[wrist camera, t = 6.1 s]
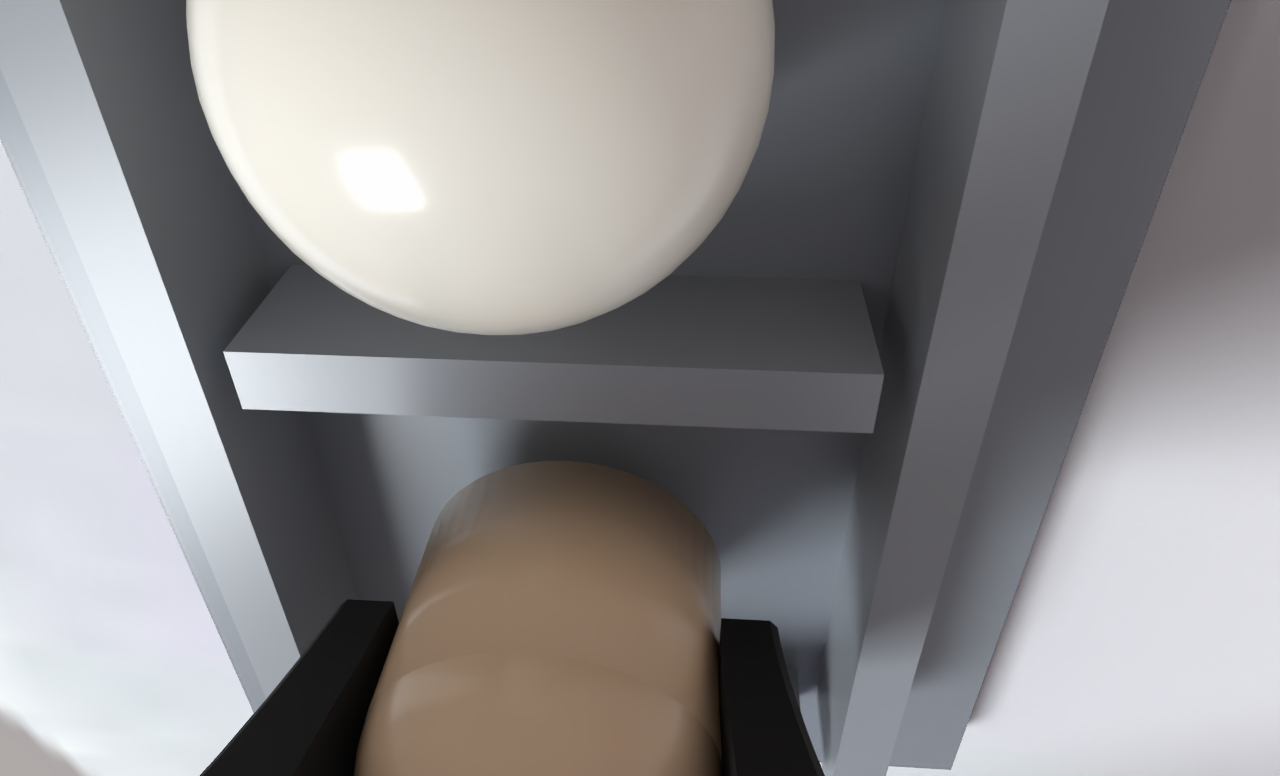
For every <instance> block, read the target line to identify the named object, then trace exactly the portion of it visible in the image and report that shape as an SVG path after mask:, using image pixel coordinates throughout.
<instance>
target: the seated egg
mask: <svg viewBox="0 0 1280 776" xmlns="http://www.w3.org/2000/svg"><path fill="white" fill-rule="evenodd" d="M186 19H187V32H188V42H189V51H190V60H191V67H192V71H193V75H194V80H195V84H196V88H197V93H198V97H199V101H200V104H201V106H202V109H203V112H204V115H205V117H206V120H207V123H208V126H209V129H210V131H211V134H212V136H213V138H214V140H215V142H216V144H217V146H218V148H219V150H220V153H221V155H222V157H223V159H224V161H225V163H226V165H227V167H228V168H229V170H230V172H231V174H232V175H233V177H234V179H235V180H236V182H237V183H238V185H239V186H240V188H241V190H242V191H243V193H244V194H245V196H246V198H247V199H248V201H249V202H250V204H251V205H252V206H253V208H254V209H255V210H256V211H257V213H258V214H259V215H260V216H261V218H262V219H263V220H264V221H265V223H266V224H267V225H268V227H269V228H270V229H271V230H272V231H273V232H274V233H275V234H276V235H277V236H278V237H279V238H280V239H281V240H282V241H283V242H284V244H285V245H286V246H287V247H288V248H289V249H290V250H291V251H292V252H293V253H294V254H296V255H297V256H298V257H299V258H300V259H301V260H303V261H304V262H305V263H306V264H307V265H309V266H310V267H311V268H312V269H313V270H315V271H316V272H317V273H318V274H320V275H321V276H322V277H324V278H325V279H327V280H328V281H330V282H331V283H333V284H334V285H336V286H337V287H339V288H340V289H341V290H343V291H344V292H346V293H348V294H350V295H352V296H354V297H355V298H357V299H359V300H361V301H363V302H365V303H366V304H368V305H370V306H372V307H374V308H377V309H379V310H381V311H384V312H386V313H389V314H391V315H393V316H396V317H398V318H401V319H404V320H407V321H411V322H414V323H417V324H420V325H423V326H427V327H432V328H437V329H442V330H447V331H452V332H458V333H469V334H480V335H524V334H531V333H538V332H546V331H552V330H556V329H560V328H564V327H568V326H571V325H575V324H579V323H582V322H584V321H587V320H589V319H592V318H594V317H597V316H600V315H602V314H605V313H607V312H609V311H612V310H614V309H616V308H619V307H620V306H622V305H624V304H626V303H628V302H630V301H631V300H633V299H635V298H637V297H639V296H640V295H642V294H644V293H646V292H647V291H648V290H650V289H651V288H652V287H654V286H655V285H656V284H658V283H659V282H661V281H662V280H663V279H665V278H666V277H667V276H669V275H670V274H671V273H672V272H673V271H674V270H675V269H676V268H677V267H678V266H679V265H680V264H681V263H682V262H684V261H685V260H686V259H687V258H688V257H689V256H690V255H691V254H692V253H693V252H694V251H695V250H696V249H697V248H698V247H699V246H700V245H701V244H702V243H703V242H704V240H705V239H706V238H707V237H708V235H709V234H710V233H711V232H712V230H713V229H714V228H715V227H716V225H717V224H718V223H719V222H720V220H721V219H722V217H723V216H724V214H725V212H726V211H727V209H728V207H729V206H730V204H731V202H732V201H733V199H734V197H735V196H736V194H737V192H738V191H739V189H740V187H741V185H742V182H743V180H744V178H745V176H746V174H747V171H748V169H749V167H750V164H751V162H752V160H753V157H754V155H755V153H756V151H757V148H758V146H759V142H760V139H761V135H762V132H763V128H764V125H765V121H766V118H767V114H768V110H769V103H770V96H771V89H772V83H773V76H774V47H775V21H774V12H773V3H772V0H186Z"/></svg>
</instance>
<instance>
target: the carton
mask: <svg viewBox="0 0 1280 776" xmlns="http://www.w3.org/2000/svg"><path fill="white" fill-rule="evenodd" d="M1230 2H1231V0H772V3H773V12H774V21H775V47H774V76H773V83H772V89H771V96H770V103H769V110H768V114H767V118H766V121H765V125H764V128H763V132H762V135H761V139H760V142H759V146H758V148H757V151H756V153H755V155H754V157H753V160H752V162H751V164H750V167H749V169H748V171H747V174H746V176H745V178H744V180H743V182H742V185H741V187H740V189H739V191H738V192H737V194H736V196H735V197H734V199H733V201H732V202H731V204H730V206H729V207H728V209H727V211H726V212H725V214H724V216H723V217H722V219H721V220H720V222H719V223H718V224H717V225H716V227H715V228H714V229H713V230H712V232H711V233H710V234H709V235H708V237H707V238H706V239H705V240H704V242H703V243H702V244H701V245H700V246H699V247H698V248H697V249H696V250H695V251H694V252H693V253H692V254H691V255H690V256H689V257H688V258H687V259H686V260H685V261H684V262H682V263H681V264H680V265H679V266H678V267H677V268H676V269H675V270H674V271H673V272H672V273H671V274H670V275H669V276H667V277H666V278H665V279H663V280H662V281H661V282H659V283H658V284H656V285H655V286H654V287H652V288H651V289H650V290H648V291H647V292H646V293H644V294H642V295H640V296H639V297H637V298H635V299H633V300H631V301H630V302H628V303H626V304H624V305H622V306H620V307H619V308H616V309H614V310H612V311H609V312H607V313H605V314H602V315H600V316H597V317H594V318H592V319H589V320H587V321H584V322H582V323H579V324H575V325H571V326H568V327H564V328H560V329H556V330H552V331H546V332H538V333H531V334H524V335H480V334H469V333H458V332H452V331H447V330H442V329H437V328H432V327H427V326H423V325H420V324H417V323H414V322H411V321H407V320H404V319H401V318H398V317H396V316H393V315H391V314H389V313H386V312H384V311H381V310H379V309H377V308H374V307H372V306H370V305H368V304H366V303H365V302H363V301H361V300H359V299H357V298H355V297H354V296H352V295H350V294H348V293H346V292H344V291H343V290H341V289H340V288H339V287H337V286H336V285H334V284H333V283H331V282H330V281H328V280H327V279H325V278H324V277H322V276H321V275H320V274H318V273H317V272H316V271H315V270H313V269H312V268H311V267H310V266H309V265H307V264H306V263H305V262H304V261H303V260H301V259H300V258H299V257H298V256H297V255H296V254H294V253H293V252H292V251H291V250H290V249H289V248H288V247H287V246H286V245H285V244H284V242H283V241H282V240H281V239H280V238H279V237H278V236H277V235H276V234H275V233H274V232H273V231H272V230H271V229H270V228H269V227H268V225H267V224H266V223H265V221H264V220H263V219H262V218H261V216H260V215H259V214H258V213H257V211H256V210H255V209H254V208H253V206H252V205H251V204H250V202H249V201H248V199H247V198H246V196H245V194H244V193H243V191H242V190H241V188H240V186H239V185H238V183H237V182H236V180H235V179H234V177H233V175H232V174H231V172H230V170H229V168H228V167H227V165H226V163H225V161H224V159H223V157H222V155H221V153H220V150H219V148H218V146H217V144H216V142H215V140H214V138H213V136H212V134H211V131H210V129H209V126H208V123H207V120H206V117H205V115H204V112H203V109H202V106H201V104H200V101H199V97H198V93H197V88H196V84H195V80H194V75H193V71H192V67H191V60H190V51H189V42H188V32H187V19H186V0H0V140H1V142H2V144H3V147H4V149H5V151H6V153H7V156H8V158H9V160H10V162H11V165H12V167H13V169H14V171H15V174H16V176H17V178H18V181H19V183H20V185H21V187H22V190H23V192H24V194H25V196H26V199H27V201H28V203H29V205H30V208H31V210H32V212H33V214H34V217H35V219H36V221H37V223H38V226H39V228H40V230H41V232H42V235H43V237H44V239H45V242H46V244H47V246H48V248H49V251H50V253H51V255H52V257H53V260H54V262H55V264H56V266H57V269H58V271H59V273H60V275H61V278H62V280H63V282H64V284H65V287H66V289H67V291H68V294H69V296H70V298H71V300H72V303H73V305H74V307H75V309H76V312H77V314H78V316H79V318H80V321H81V323H82V325H83V327H84V330H85V332H86V334H87V336H88V339H89V341H90V343H91V346H92V348H93V350H94V352H95V355H96V357H97V359H98V361H99V364H100V366H101V368H102V370H103V373H104V375H105V377H106V379H107V382H108V384H109V386H110V388H111V391H112V393H113V395H114V398H115V400H116V402H117V404H118V407H119V409H120V411H121V413H122V416H123V418H124V420H125V422H126V425H127V427H128V429H129V431H130V434H131V436H132V438H133V440H134V443H135V445H136V447H137V450H138V452H139V454H140V456H141V459H142V461H143V463H144V465H145V468H146V470H147V472H148V474H149V477H150V479H151V481H152V483H153V486H154V488H155V490H156V492H157V495H158V497H159V499H160V502H161V504H162V506H163V508H164V511H165V513H166V515H167V517H168V520H169V522H170V524H171V526H172V529H173V531H174V533H175V535H176V538H177V540H178V542H179V544H180V547H181V549H182V551H183V554H184V556H185V558H186V560H187V563H188V565H189V567H190V569H191V572H192V574H193V576H194V578H195V581H196V583H197V585H198V587H199V590H200V592H201V594H202V596H203V599H204V601H205V603H206V606H207V608H208V610H209V612H210V615H211V617H212V619H213V621H214V624H215V626H216V628H217V630H218V633H219V635H220V637H221V639H222V642H223V644H224V646H225V648H226V651H227V653H228V655H229V658H230V660H231V662H232V664H233V667H234V669H235V671H236V673H237V676H238V678H239V680H240V682H241V685H242V687H243V689H244V691H245V694H246V696H247V698H248V700H249V703H250V705H251V707H252V710H253V712H254V713H255V712H256V710H257V709H258V708H259V707H260V706H261V705H262V703H263V702H264V701H265V700H266V699H267V698H268V696H269V695H270V694H271V693H272V691H273V690H274V689H275V688H276V686H277V685H278V684H279V683H280V682H281V680H282V679H283V678H284V677H285V675H286V674H287V673H288V672H289V670H290V669H291V668H292V667H293V665H294V664H295V663H296V662H297V660H298V659H299V658H300V657H301V655H302V654H303V653H304V652H305V650H306V649H307V648H308V647H309V645H310V644H311V643H312V641H313V640H314V639H315V638H316V636H317V635H318V634H319V632H320V631H321V630H322V629H323V627H324V626H325V625H326V623H327V622H328V621H329V619H330V618H331V617H332V616H333V614H334V613H335V612H336V610H337V609H338V608H339V607H340V605H341V604H342V603H344V602H345V601H346V600H347V599H353V600H372V601H392V602H394V605H395V609H396V613H397V617H398V621H399V622H400V619H401V616H402V613H403V610H404V607H405V605H406V602H407V599H408V596H409V593H410V590H411V588H412V585H413V582H414V579H415V576H416V574H417V571H418V568H419V565H420V562H421V559H422V557H423V554H424V551H425V548H426V545H427V542H428V540H429V537H430V534H431V531H432V528H433V526H434V523H435V521H436V519H437V517H438V515H439V513H440V512H441V511H442V509H443V508H444V507H445V505H446V504H447V503H448V501H449V500H450V499H451V498H452V497H454V496H455V495H456V494H457V493H458V492H459V491H460V490H461V489H463V488H464V487H466V486H467V485H469V484H470V483H472V482H473V481H475V480H477V479H479V478H481V477H483V476H485V475H487V474H489V473H492V472H495V471H498V470H500V469H503V468H506V467H511V466H515V465H519V464H524V463H531V462H540V461H575V462H586V463H592V464H597V465H603V466H608V467H611V468H615V469H618V470H622V471H625V472H628V473H631V474H633V475H636V476H638V477H641V478H643V479H645V480H648V481H650V482H651V483H653V484H655V485H657V486H659V487H661V488H663V489H664V490H666V491H667V492H669V493H670V494H672V495H673V496H674V497H676V498H677V499H679V500H680V501H681V502H682V503H683V504H685V505H686V506H687V507H688V508H689V509H690V510H691V511H692V512H693V513H694V514H695V515H696V516H697V517H698V519H699V520H700V521H701V522H702V523H703V524H704V526H705V527H706V529H707V531H708V532H709V534H710V536H711V537H712V539H713V542H714V544H715V546H716V549H717V551H718V556H719V560H720V565H721V618H727V619H746V620H766V621H771V622H772V623H773V624H774V625H775V626H777V627H778V632H779V637H780V642H781V647H782V651H783V655H784V659H785V663H786V666H787V670H788V674H789V677H790V680H791V684H792V687H793V690H794V693H795V697H796V699H797V702H798V705H799V708H800V711H801V714H802V717H803V720H804V723H805V726H806V729H807V731H808V734H809V737H810V739H811V742H812V745H813V748H814V750H815V753H816V755H817V758H818V760H819V762H822V770H823V772H824V775H825V776H886V773H887V770H888V766H897V767H914V768H930V769H947V770H951V768H952V765H953V762H954V759H955V757H956V754H957V751H958V748H959V746H960V743H961V740H962V737H963V735H964V732H965V729H966V726H967V724H968V721H969V718H970V715H971V713H972V710H973V707H974V704H975V702H976V699H977V696H978V693H979V691H980V688H981V685H982V682H983V680H984V677H985V674H986V672H987V669H988V666H989V663H990V661H991V658H992V655H993V652H994V650H995V647H996V644H997V641H998V639H999V636H1000V633H1001V630H1002V628H1003V625H1004V622H1005V619H1006V617H1007V614H1008V611H1009V608H1010V606H1011V603H1012V600H1013V597H1014V595H1015V592H1016V589H1017V586H1018V584H1019V581H1020V578H1021V575H1022V573H1023V570H1024V567H1025V564H1026V562H1027V559H1028V556H1029V553H1030V551H1031V548H1032V545H1033V542H1034V540H1035V537H1036V534H1037V531H1038V529H1039V526H1040V523H1041V521H1042V518H1043V515H1044V512H1045V510H1046V507H1047V504H1048V501H1049V499H1050V496H1051V493H1052V490H1053V488H1054V485H1055V482H1056V479H1057V477H1058V474H1059V471H1060V468H1061V466H1062V463H1063V460H1064V457H1065V455H1066V452H1067V449H1068V446H1069V444H1070V441H1071V438H1072V435H1073V433H1074V430H1075V427H1076V424H1077V422H1078V419H1079V416H1080V413H1081V411H1082V408H1083V405H1084V402H1085V400H1086V397H1087V394H1088V391H1089V389H1090V386H1091V383H1092V380H1093V378H1094V375H1095V372H1096V370H1097V367H1098V364H1099V361H1100V359H1101V356H1102V353H1103V350H1104V348H1105V345H1106V342H1107V339H1108V337H1109V334H1110V331H1111V328H1112V326H1113V323H1114V320H1115V317H1116V315H1117V312H1118V309H1119V306H1120V304H1121V301H1122V298H1123V295H1124V293H1125V290H1126V287H1127V284H1128V282H1129V279H1130V276H1131V273H1132V271H1133V268H1134V265H1135V262H1136V260H1137V257H1138V254H1139V251H1140V249H1141V246H1142V243H1143V240H1144V238H1145V235H1146V232H1147V229H1148V227H1149V224H1150V221H1151V219H1152V216H1153V213H1154V210H1155V208H1156V205H1157V202H1158V199H1159V197H1160V194H1161V191H1162V188H1163V186H1164V183H1165V180H1166V177H1167V175H1168V172H1169V169H1170V166H1171V164H1172V161H1173V158H1174V155H1175V153H1176V150H1177V147H1178V144H1179V142H1180V139H1181V136H1182V133H1183V131H1184V128H1185V125H1186V122H1187V120H1188V117H1189V114H1190V111H1191V109H1192V106H1193V103H1194V100H1195V98H1196V95H1197V92H1198V89H1199V87H1200V84H1201V81H1202V78H1203V76H1204V73H1205V70H1206V68H1207V65H1208V62H1209V59H1210V57H1211V54H1212V51H1213V48H1214V46H1215V43H1216V40H1217V37H1218V35H1219V32H1220V29H1221V26H1222V24H1223V21H1224V18H1225V15H1226V13H1227V10H1228V7H1229V4H1230Z"/></svg>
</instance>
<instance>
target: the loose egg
mask: <svg viewBox="0 0 1280 776" xmlns="http://www.w3.org/2000/svg"><path fill="white" fill-rule="evenodd" d="M720 628H721V565H720V560H719V556H718V551H717V549H716V546H715V544H714V542H713V539H712V537H711V536H710V534H709V532H708V531H707V529H706V527H705V526H704V524H703V523H702V522H701V521H700V520H699V519H698V517H697V516H696V515H695V514H694V513H693V512H692V511H691V510H690V509H689V508H688V507H687V506H686V505H685V504H683V503H682V502H681V501H680V500H679V499H677V498H676V497H674V496H673V495H672V494H670V493H669V492H667V491H666V490H664V489H663V488H661V487H659V486H657V485H655V484H653V483H651V482H650V481H648V480H645V479H643V478H641V477H638V476H636V475H633V474H631V473H628V472H625V471H622V470H618V469H615V468H611V467H608V466H603V465H597V464H592V463H586V462H575V461H540V462H531V463H524V464H519V465H515V466H511V467H506V468H503V469H500V470H498V471H495V472H492V473H489V474H487V475H485V476H483V477H481V478H479V479H477V480H475V481H473V482H472V483H470V484H469V485H467V486H466V487H464V488H463V489H461V490H460V491H459V492H458V493H457V494H456V495H455V496H454V497H452V498H451V499H450V500H449V501H448V503H447V504H446V505H445V507H444V508H443V509H442V511H441V512H440V513H439V515H438V517H437V519H436V521H435V523H434V526H433V528H432V531H431V534H430V537H429V540H428V542H427V545H426V548H425V551H424V554H423V557H422V559H421V562H420V565H419V568H418V571H417V574H416V576H415V579H414V582H413V585H412V588H411V590H410V593H409V596H408V599H407V602H406V605H405V607H404V610H403V613H402V616H401V619H400V622H399V624H398V627H397V630H396V633H395V636H394V638H393V641H392V644H391V647H390V650H389V653H388V655H387V658H386V661H385V664H384V667H383V670H382V672H381V675H380V678H379V681H378V684H377V686H376V689H375V692H374V695H373V698H372V701H371V703H370V706H369V709H368V712H367V715H366V718H365V722H364V725H363V729H362V733H361V736H360V740H359V744H358V748H357V752H356V760H355V768H354V776H722V745H721V729H720V692H719V642H720Z"/></svg>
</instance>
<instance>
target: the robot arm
mask: <svg viewBox="0 0 1280 776" xmlns="http://www.w3.org/2000/svg"><path fill="white" fill-rule="evenodd" d="M398 624H399V621H398V617H397V613H396V609H395V605H394V602H392V601H372V600H353V599H347V600H346V601H345V602H344V603H342V604H341V605H340V607H339V608H338V609H337V610H336V612H335V613H334V614H333V616H332V617H331V618H330V619H329V621H328V622H327V623H326V625H325V626H324V627H323V629H322V630H321V631H320V632H319V634H318V635H317V636H316V638H315V639H314V640H313V641H312V643H311V644H310V645H309V647H308V648H307V649H306V650H305V652H304V653H303V654H302V655H301V657H300V658H299V659H298V660H297V662H296V663H295V664H294V665H293V667H292V668H291V669H290V670H289V672H288V673H287V674H286V675H285V677H284V678H283V679H282V680H281V682H280V683H279V684H278V685H277V686H276V688H275V689H274V690H273V691H272V693H271V694H270V695H269V696H268V698H267V699H266V700H265V701H264V702H263V703H262V705H261V706H260V707H259V708H258V709H257V710H256V712H255V713H254V714H253V715H252V716H251V718H250V719H249V720H248V721H247V722H246V723H245V725H244V726H243V727H242V728H241V729H240V730H239V732H238V733H237V734H236V735H235V736H234V738H233V739H232V740H231V741H230V742H229V743H228V745H227V746H226V747H225V748H224V749H223V750H222V752H221V753H220V754H219V755H218V756H217V757H216V758H215V759H214V761H213V762H212V763H211V764H210V765H209V766H208V767H207V768H206V769H205V770H204V771H203V773H202V774H201V775H200V776H354V768H355V760H356V752H357V748H358V744H359V740H360V736H361V733H362V729H363V725H364V722H365V718H366V715H367V712H368V709H369V706H370V703H371V701H372V698H373V695H374V692H375V689H376V686H377V684H378V681H379V678H380V675H381V672H382V670H383V667H384V664H385V661H386V658H387V655H388V653H389V650H390V647H391V644H392V641H393V638H394V636H395V633H396V630H397V627H398ZM719 692H720V729H721V745H722V776H825V775H824V772H823V770H822V767H821V765H820V763H819V760H818V758H817V755H816V753H815V750H814V748H813V745H812V742H811V739H810V737H809V734H808V731H807V729H806V726H805V723H804V720H803V717H802V714H801V711H800V708H799V705H798V702H797V699H796V697H795V693H794V690H793V687H792V684H791V680H790V677H789V674H788V670H787V666H786V663H785V659H784V655H783V651H782V647H781V642H780V637H779V632H778V627H777V626H775V625H774V624H773V623H772V622H771V621H766V620H746V619H727V618H721V628H720V642H719Z"/></svg>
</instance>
